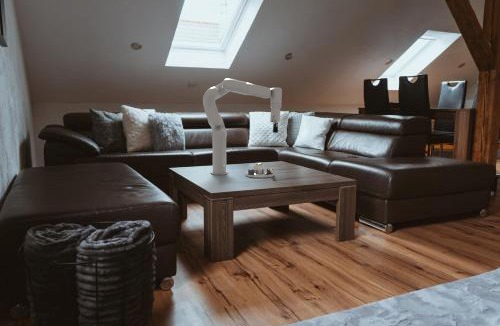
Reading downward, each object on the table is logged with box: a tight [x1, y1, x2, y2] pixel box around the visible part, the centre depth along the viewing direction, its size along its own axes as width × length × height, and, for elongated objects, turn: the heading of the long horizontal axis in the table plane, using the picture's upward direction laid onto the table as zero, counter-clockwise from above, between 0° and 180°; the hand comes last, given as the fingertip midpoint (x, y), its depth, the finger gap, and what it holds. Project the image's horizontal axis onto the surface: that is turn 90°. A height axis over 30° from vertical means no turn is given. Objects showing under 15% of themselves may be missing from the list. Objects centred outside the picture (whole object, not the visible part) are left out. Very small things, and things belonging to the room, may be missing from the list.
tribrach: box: [244, 162, 275, 179], centre depth 277 cm, size 20×20×9 cm
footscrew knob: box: [266, 167, 274, 174], centre depth 270 cm, size 14×4×4 cm, turn 5°
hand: (275, 132), depth 279 cm, fingers closed
